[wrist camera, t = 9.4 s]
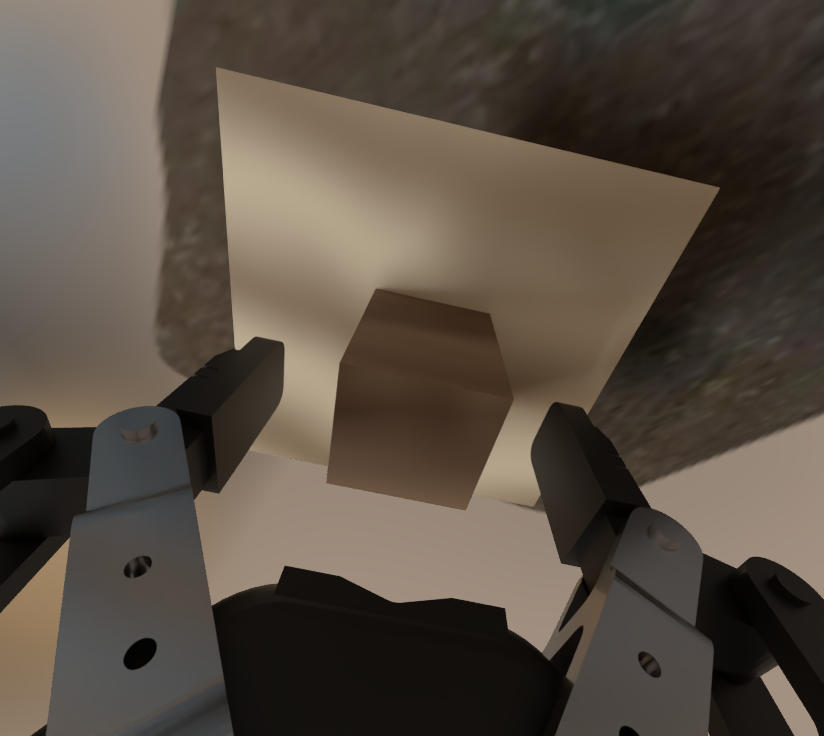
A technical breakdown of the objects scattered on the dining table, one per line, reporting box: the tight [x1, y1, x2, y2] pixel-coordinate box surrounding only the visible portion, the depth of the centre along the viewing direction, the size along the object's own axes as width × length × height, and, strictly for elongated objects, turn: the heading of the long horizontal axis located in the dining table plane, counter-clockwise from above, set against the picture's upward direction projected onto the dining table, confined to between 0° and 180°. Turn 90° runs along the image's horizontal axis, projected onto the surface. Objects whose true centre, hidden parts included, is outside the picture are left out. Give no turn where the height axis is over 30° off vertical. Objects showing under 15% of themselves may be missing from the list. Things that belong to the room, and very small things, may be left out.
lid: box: [216, 67, 720, 510], centre depth 12 cm, size 14×14×6 cm
